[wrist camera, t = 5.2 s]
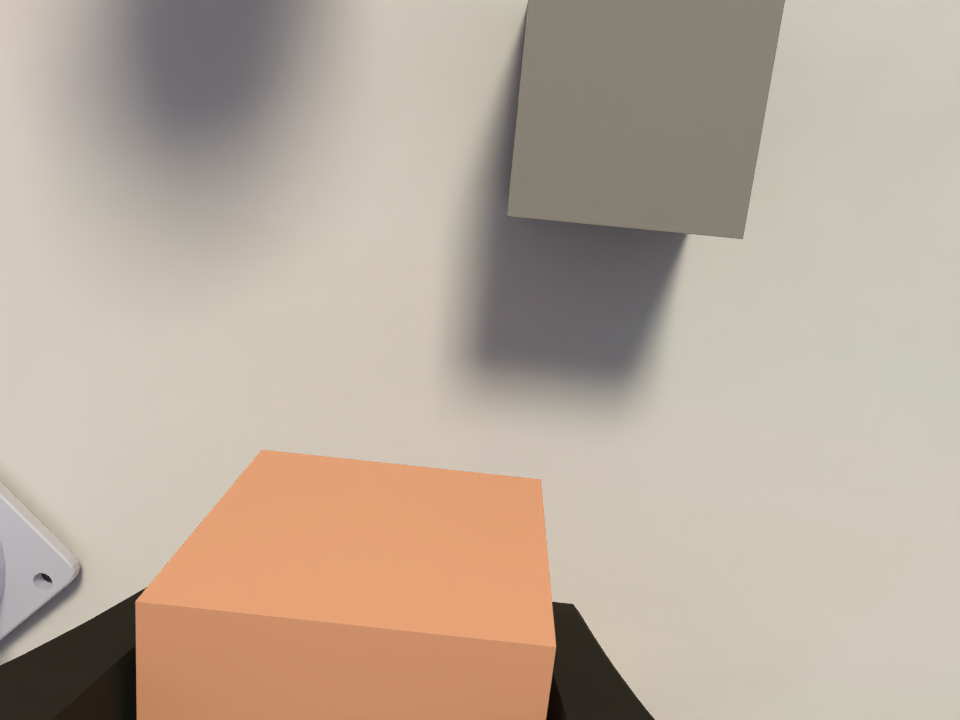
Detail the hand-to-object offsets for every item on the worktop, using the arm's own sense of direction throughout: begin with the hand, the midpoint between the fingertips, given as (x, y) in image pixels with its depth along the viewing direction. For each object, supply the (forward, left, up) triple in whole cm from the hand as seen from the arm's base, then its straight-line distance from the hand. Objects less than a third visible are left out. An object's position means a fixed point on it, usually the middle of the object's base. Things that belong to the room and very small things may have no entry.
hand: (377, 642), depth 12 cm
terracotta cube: (0, 0, -2) cm, 2 cm away
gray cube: (+8, +3, -10) cm, 13 cm away
